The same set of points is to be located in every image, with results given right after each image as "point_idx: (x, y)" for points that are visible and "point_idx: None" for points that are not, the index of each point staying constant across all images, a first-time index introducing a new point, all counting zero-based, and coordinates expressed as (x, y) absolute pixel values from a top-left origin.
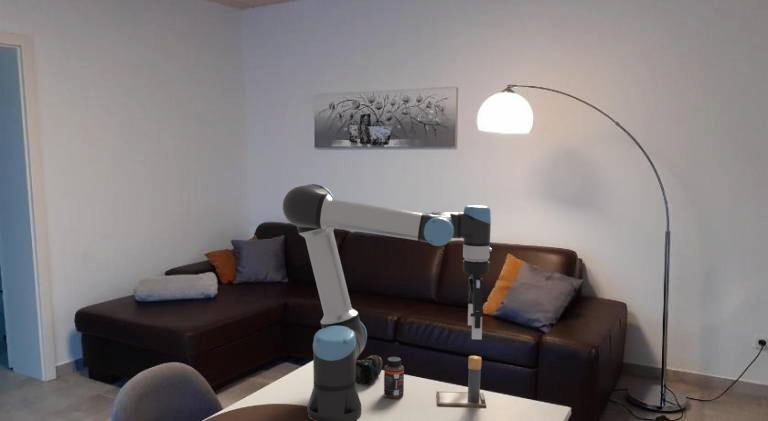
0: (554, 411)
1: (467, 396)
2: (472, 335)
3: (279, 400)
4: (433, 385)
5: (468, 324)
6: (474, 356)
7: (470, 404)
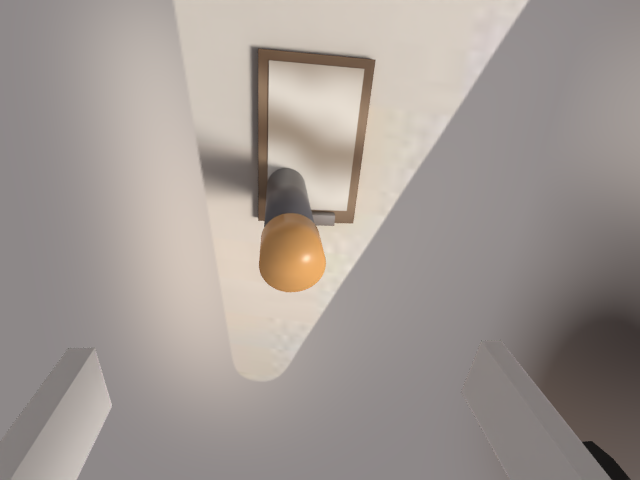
0: (250, 364)
1: (323, 172)
2: (48, 379)
3: None
4: (450, 55)
5: (483, 349)
6: (313, 264)
7: (261, 173)
